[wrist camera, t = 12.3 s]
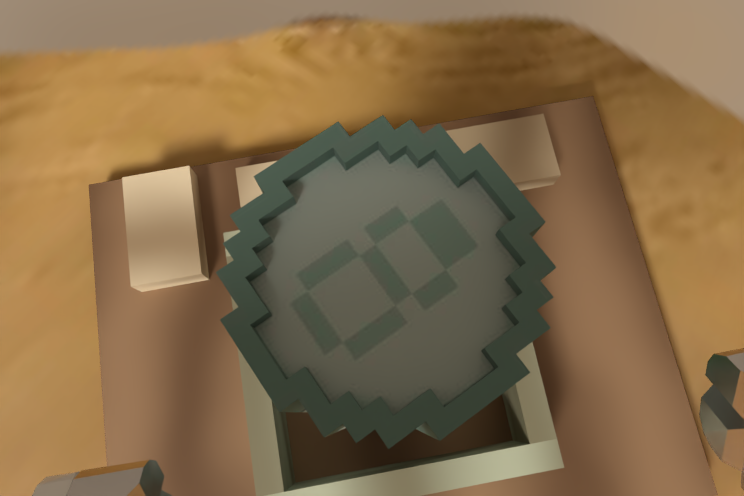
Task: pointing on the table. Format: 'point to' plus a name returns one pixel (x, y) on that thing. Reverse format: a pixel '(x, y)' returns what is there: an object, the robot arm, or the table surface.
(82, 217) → the table surface
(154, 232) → the block
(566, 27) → the table surface
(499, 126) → the bar
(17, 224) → the table surface
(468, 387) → the can
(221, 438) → the jig
